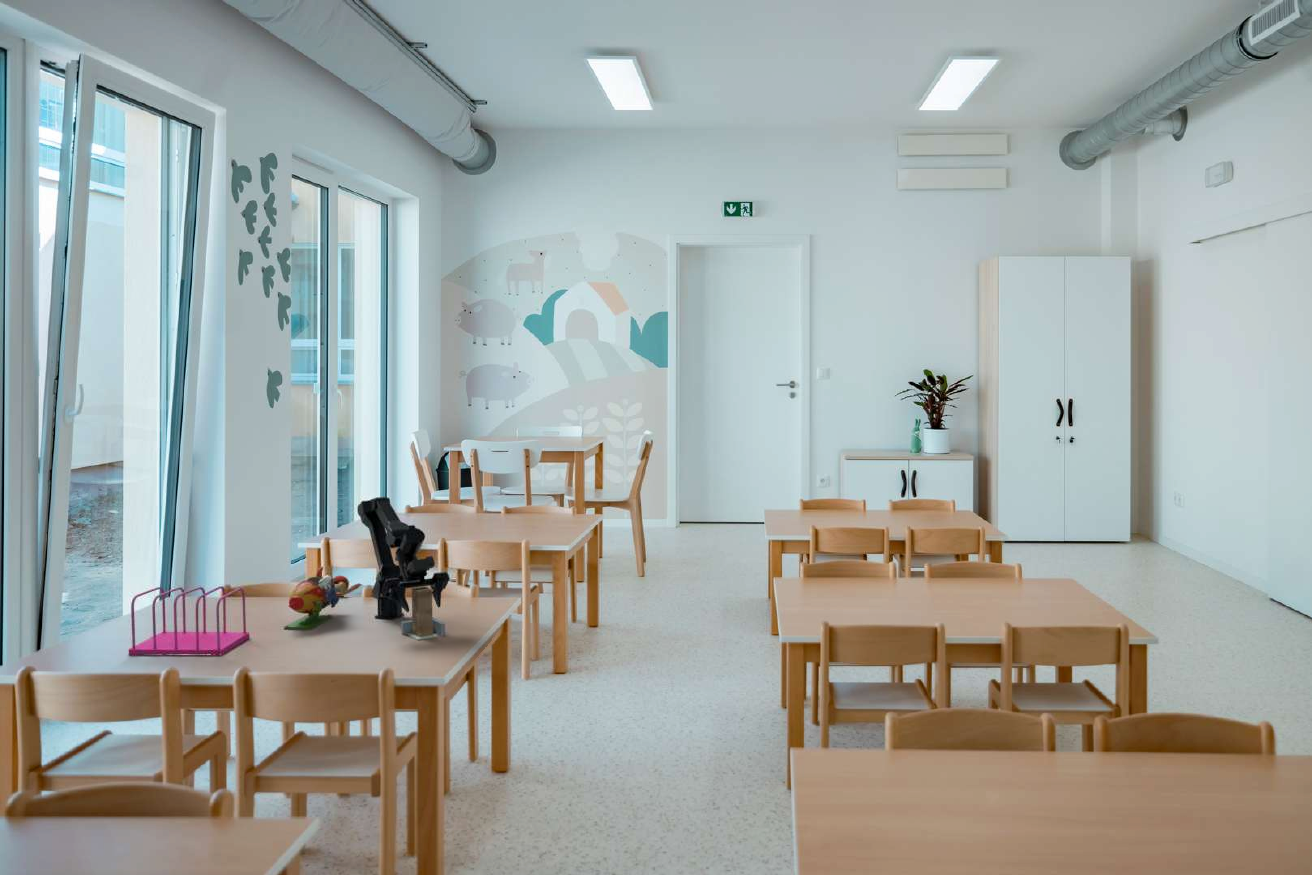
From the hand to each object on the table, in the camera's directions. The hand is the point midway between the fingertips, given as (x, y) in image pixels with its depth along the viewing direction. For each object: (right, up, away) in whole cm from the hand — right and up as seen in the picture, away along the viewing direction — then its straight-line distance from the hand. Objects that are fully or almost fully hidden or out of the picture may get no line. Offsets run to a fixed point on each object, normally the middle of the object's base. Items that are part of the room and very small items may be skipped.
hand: (424, 608), depth 273 cm
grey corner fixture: (-1, -8, +3) cm, 8 cm away
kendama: (-43, -5, +51) cm, 67 cm away
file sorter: (-62, -9, -8) cm, 63 cm away
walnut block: (-1, -8, +2) cm, 8 cm away
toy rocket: (-37, -7, +17) cm, 42 cm away
